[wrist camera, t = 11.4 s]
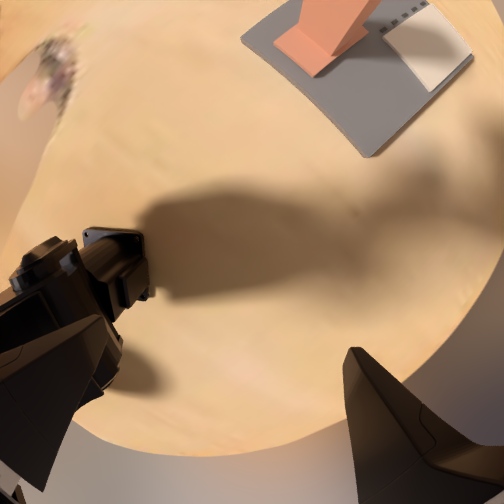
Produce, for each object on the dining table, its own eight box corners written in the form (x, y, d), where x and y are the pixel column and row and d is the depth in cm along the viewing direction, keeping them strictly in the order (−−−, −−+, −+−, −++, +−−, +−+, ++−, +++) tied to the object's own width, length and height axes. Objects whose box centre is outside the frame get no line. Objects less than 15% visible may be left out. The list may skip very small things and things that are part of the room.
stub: (329, 3, 12) (370, -88, 2) (366, 35, 13) (439, -39, 3) (273, 44, 14) (272, -55, 4) (312, 77, 15) (360, 0, 5)
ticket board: (368, -38, 11) (373, -47, 9) (466, 59, 13) (476, 56, 12) (242, 43, 16) (239, 35, 14) (363, 157, 18) (370, 158, 17)
